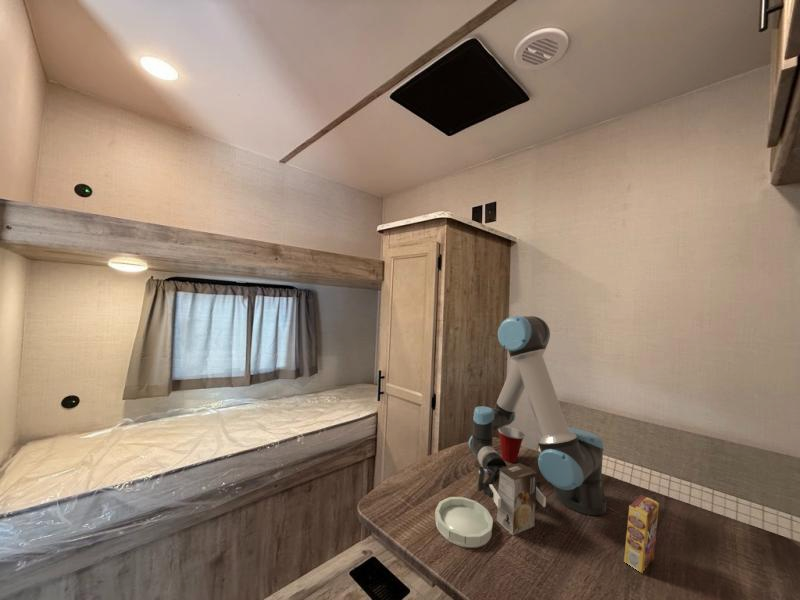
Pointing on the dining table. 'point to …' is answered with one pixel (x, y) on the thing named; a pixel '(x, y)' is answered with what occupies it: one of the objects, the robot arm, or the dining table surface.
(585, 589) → the dining table surface
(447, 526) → the round dish
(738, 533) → the dining table surface
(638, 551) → the candy box
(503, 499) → the coffee box
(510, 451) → the plastic cup
